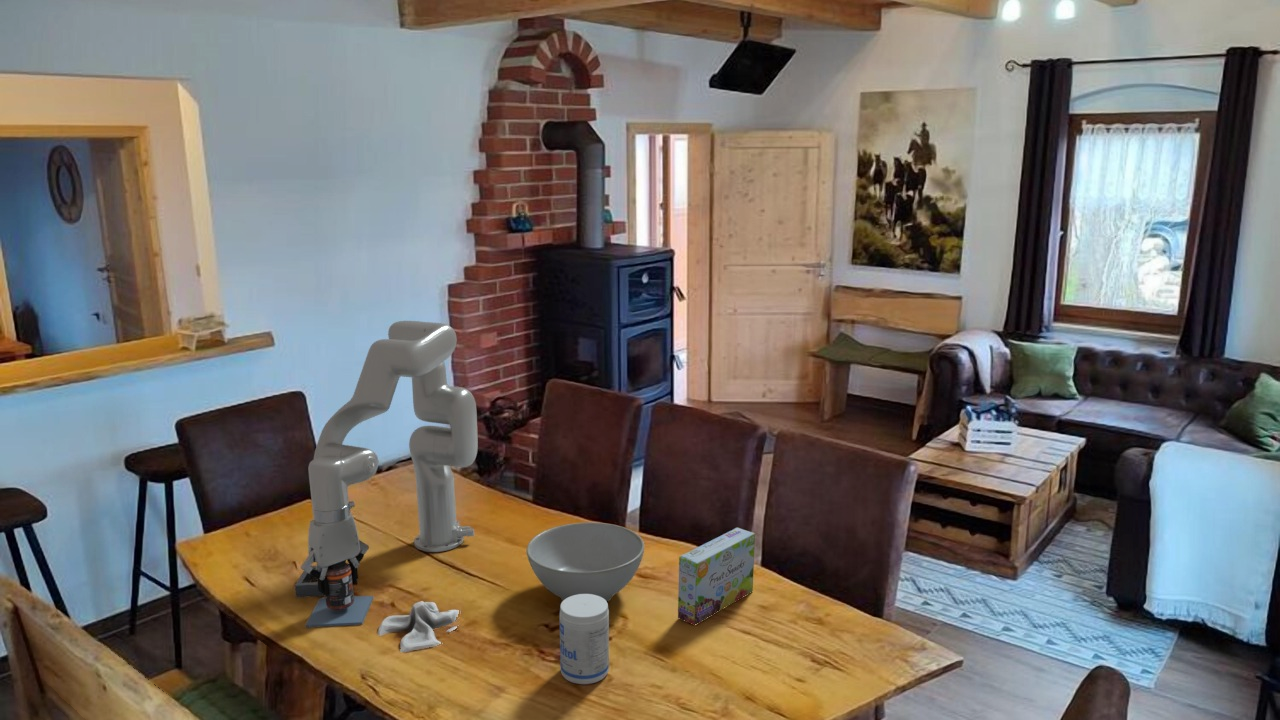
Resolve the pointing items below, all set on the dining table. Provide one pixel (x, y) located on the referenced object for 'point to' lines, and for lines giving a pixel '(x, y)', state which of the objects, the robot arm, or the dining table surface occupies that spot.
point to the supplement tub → (584, 638)
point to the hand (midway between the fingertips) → (338, 587)
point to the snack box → (715, 575)
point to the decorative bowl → (585, 558)
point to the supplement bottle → (339, 586)
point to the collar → (307, 586)
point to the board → (340, 613)
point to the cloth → (419, 625)
